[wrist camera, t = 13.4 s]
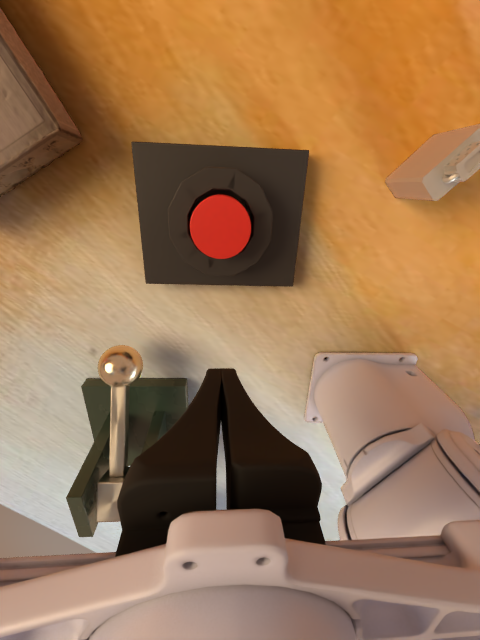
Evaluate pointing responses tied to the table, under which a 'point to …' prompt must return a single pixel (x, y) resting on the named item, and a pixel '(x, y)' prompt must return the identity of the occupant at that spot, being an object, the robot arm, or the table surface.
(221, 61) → the table surface
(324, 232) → the table surface
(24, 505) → the table surface
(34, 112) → the box
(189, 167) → the button box
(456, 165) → the lighter
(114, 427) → the lever
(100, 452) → the bracket
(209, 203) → the button
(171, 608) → the robot arm
